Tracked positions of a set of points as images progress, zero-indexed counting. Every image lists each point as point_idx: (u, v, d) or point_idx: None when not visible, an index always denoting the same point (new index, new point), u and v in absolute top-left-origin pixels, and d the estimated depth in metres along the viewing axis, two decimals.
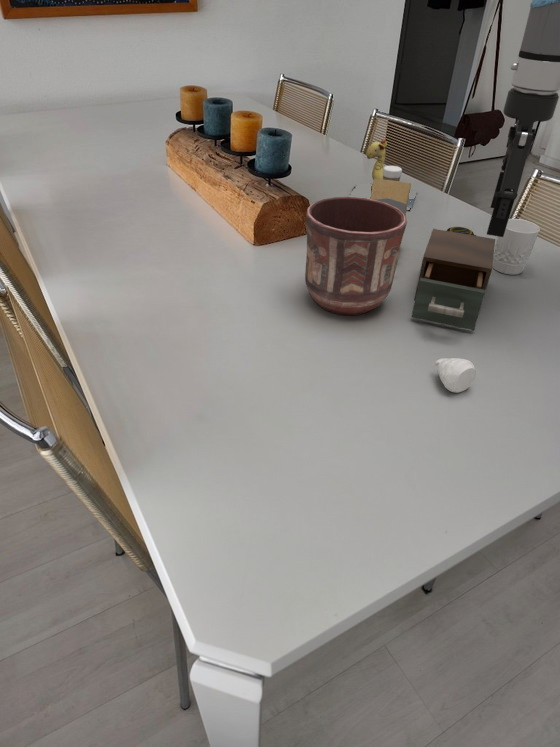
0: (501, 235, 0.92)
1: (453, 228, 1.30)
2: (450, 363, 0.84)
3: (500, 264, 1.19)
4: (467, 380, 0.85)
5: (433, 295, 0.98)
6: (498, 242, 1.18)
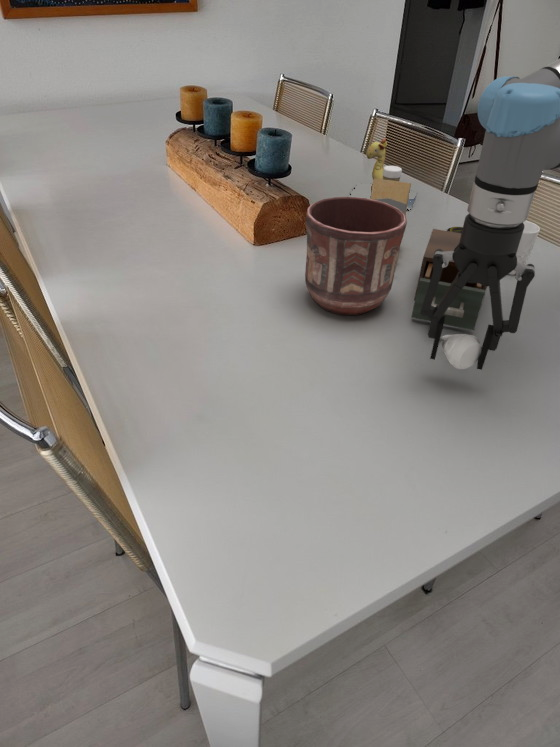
0: None
1: (453, 228, 1.30)
2: (456, 339, 0.82)
3: None
4: (472, 356, 0.82)
5: None
6: None
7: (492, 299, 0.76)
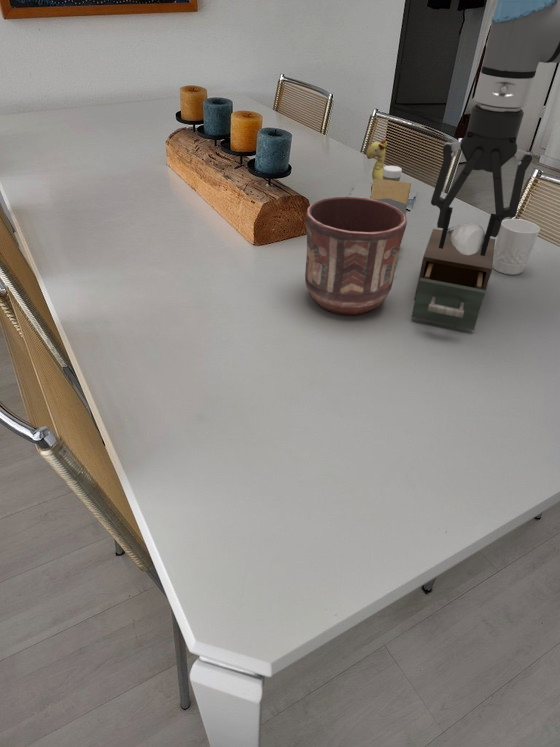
0: None
1: None
2: (462, 226, 0.92)
3: (500, 264, 1.19)
4: (477, 242, 0.93)
5: (433, 295, 0.98)
6: (498, 242, 1.18)
7: (495, 184, 0.87)
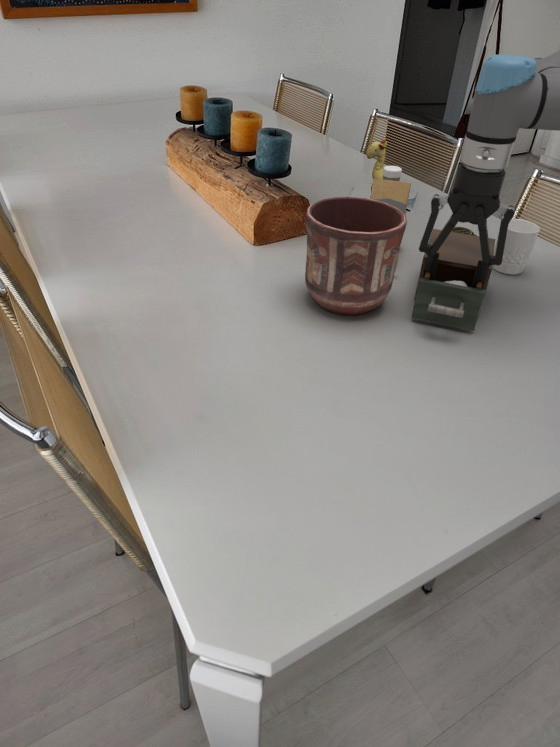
0: None
1: (453, 228, 1.30)
2: None
3: None
4: None
5: (433, 295, 0.98)
6: None
7: (480, 236, 0.93)
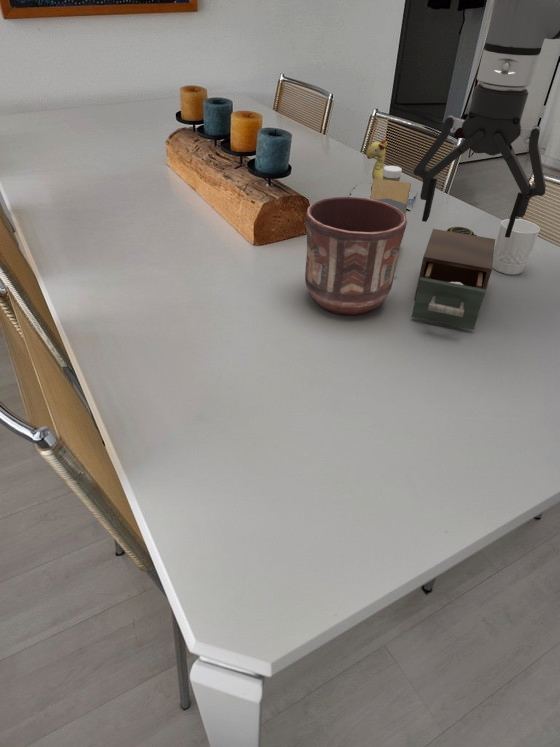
0: None
1: (453, 228, 1.30)
2: None
3: (500, 264, 1.19)
4: None
5: (433, 294, 0.98)
6: (498, 242, 1.18)
7: (509, 165, 0.82)
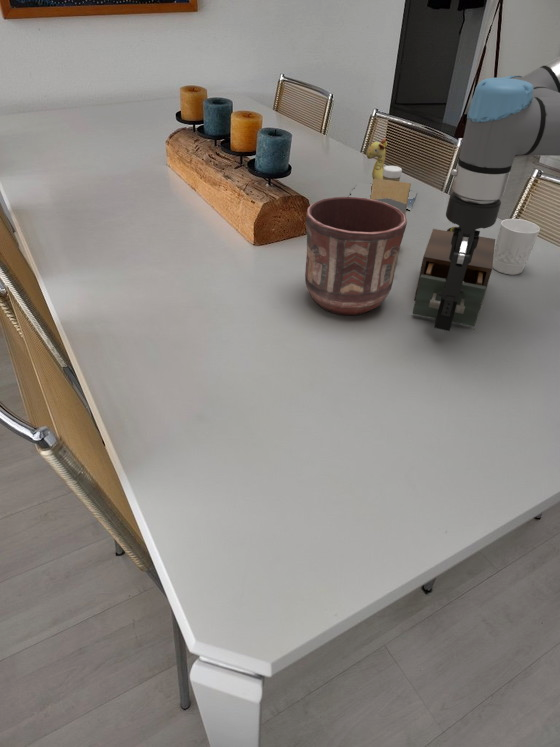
0: (447, 329, 0.95)
1: (453, 228, 1.30)
2: None
3: (500, 264, 1.19)
4: None
5: (434, 291, 0.99)
6: (498, 242, 1.18)
7: None
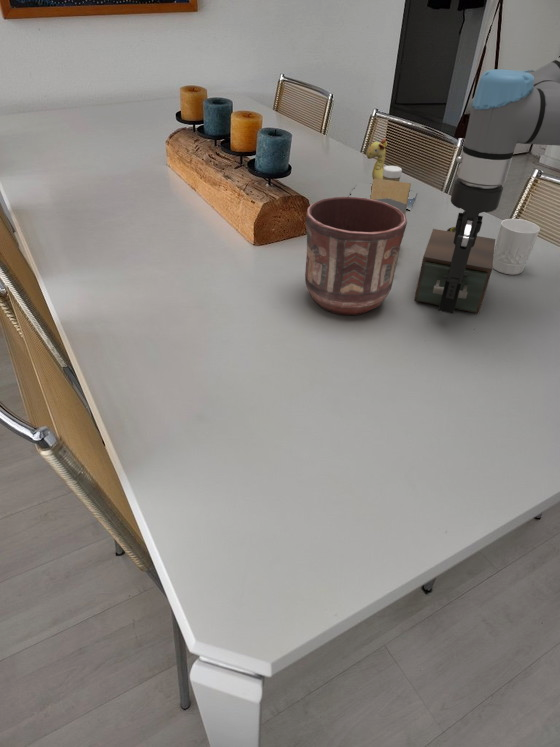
0: (451, 312, 0.99)
1: (453, 228, 1.30)
2: None
3: (500, 264, 1.19)
4: None
5: (438, 278, 1.03)
6: (498, 242, 1.18)
7: None
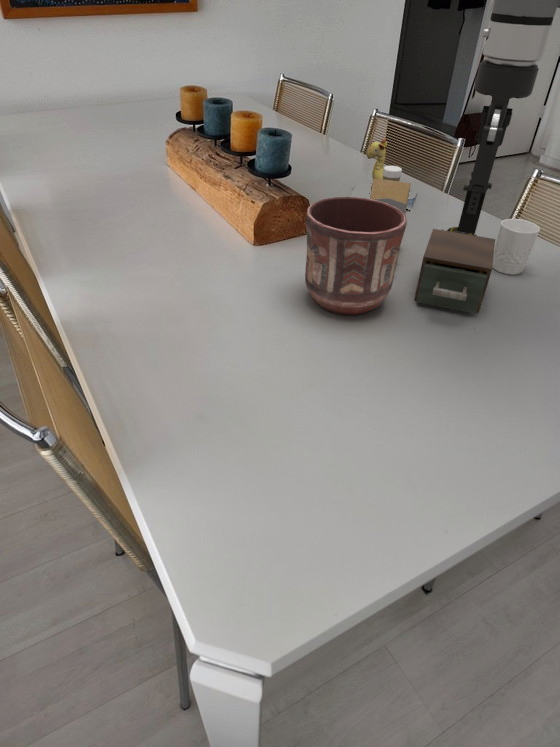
0: (472, 232, 0.85)
1: (453, 228, 1.30)
2: None
3: (500, 264, 1.19)
4: None
5: (437, 280, 1.03)
6: (498, 242, 1.18)
7: None
